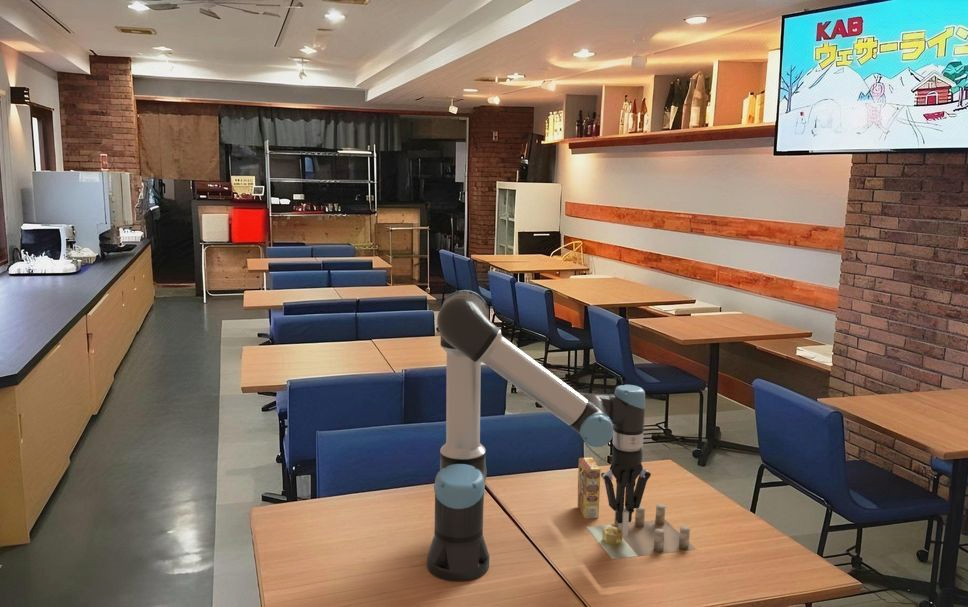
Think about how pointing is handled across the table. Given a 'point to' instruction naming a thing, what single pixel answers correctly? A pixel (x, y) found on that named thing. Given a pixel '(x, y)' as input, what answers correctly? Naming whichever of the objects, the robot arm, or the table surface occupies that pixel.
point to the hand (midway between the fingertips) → (622, 533)
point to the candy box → (588, 487)
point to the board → (646, 536)
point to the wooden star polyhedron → (612, 536)
